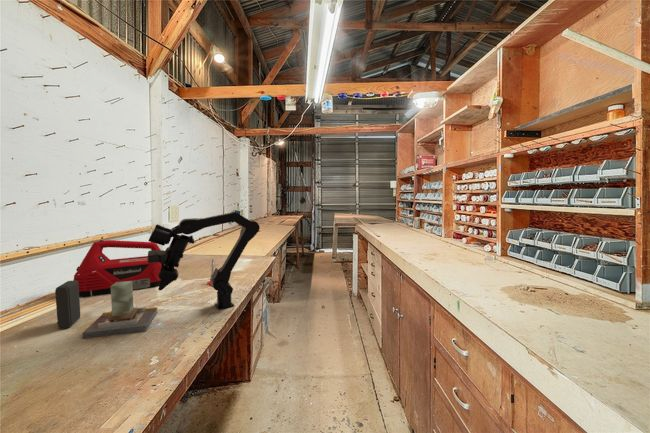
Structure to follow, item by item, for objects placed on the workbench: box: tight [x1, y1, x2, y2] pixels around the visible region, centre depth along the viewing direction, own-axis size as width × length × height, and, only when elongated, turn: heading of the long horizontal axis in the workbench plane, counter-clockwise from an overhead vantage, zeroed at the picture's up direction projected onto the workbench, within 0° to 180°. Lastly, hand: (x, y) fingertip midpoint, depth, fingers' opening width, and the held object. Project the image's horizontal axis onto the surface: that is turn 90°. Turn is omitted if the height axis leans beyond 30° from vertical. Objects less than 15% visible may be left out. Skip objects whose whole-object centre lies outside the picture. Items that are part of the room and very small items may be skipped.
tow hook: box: [206, 259, 215, 287], centre depth 150 cm, size 8×13×9 cm
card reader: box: [54, 279, 81, 330], centre depth 103 cm, size 9×4×15 cm, turn 21°
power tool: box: [72, 239, 162, 298], centre depth 143 cm, size 16×40×25 cm, turn 123°
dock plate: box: [81, 306, 158, 340], centre depth 103 cm, size 18×16×4 cm
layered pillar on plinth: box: [108, 281, 139, 322], centre depth 103 cm, size 7×7×13 cm
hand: (160, 284), depth 113 cm, fingers open, 9 cm apart
